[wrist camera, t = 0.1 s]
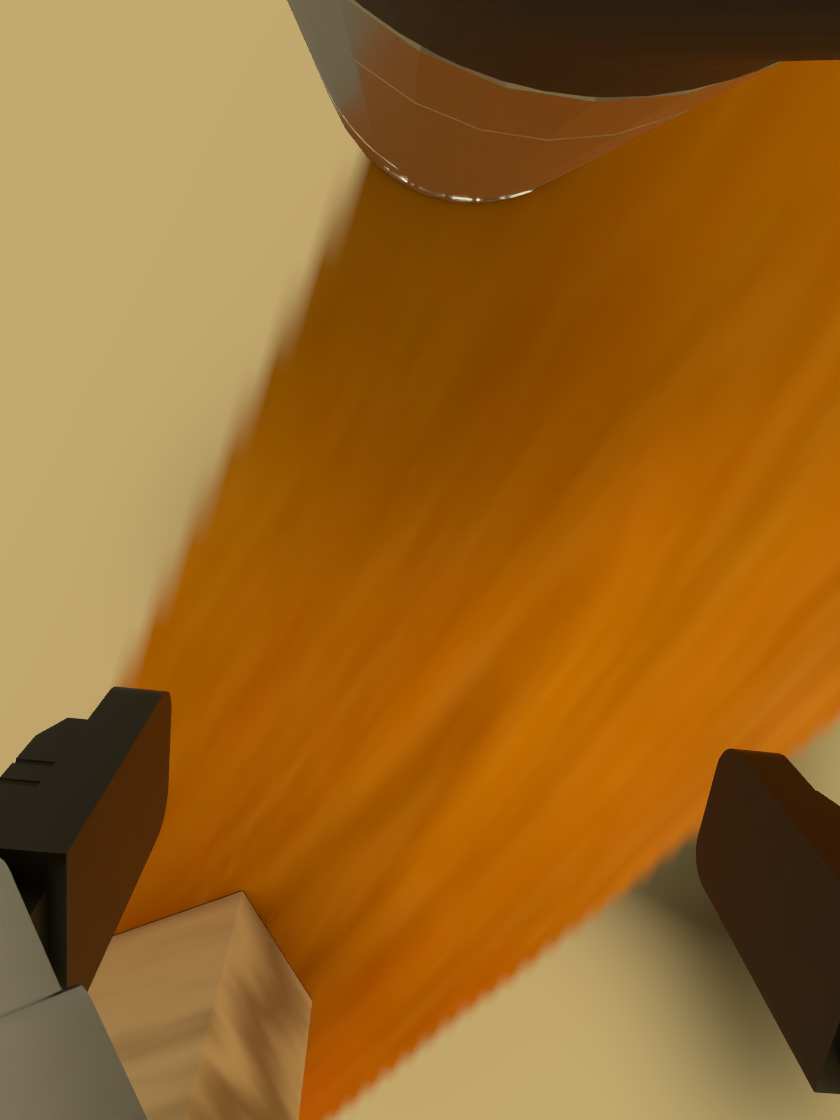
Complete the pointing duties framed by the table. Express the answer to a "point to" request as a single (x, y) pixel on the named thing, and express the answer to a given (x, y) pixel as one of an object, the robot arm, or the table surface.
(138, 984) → the tall patterned tan block
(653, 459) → the table surface
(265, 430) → the table surface
